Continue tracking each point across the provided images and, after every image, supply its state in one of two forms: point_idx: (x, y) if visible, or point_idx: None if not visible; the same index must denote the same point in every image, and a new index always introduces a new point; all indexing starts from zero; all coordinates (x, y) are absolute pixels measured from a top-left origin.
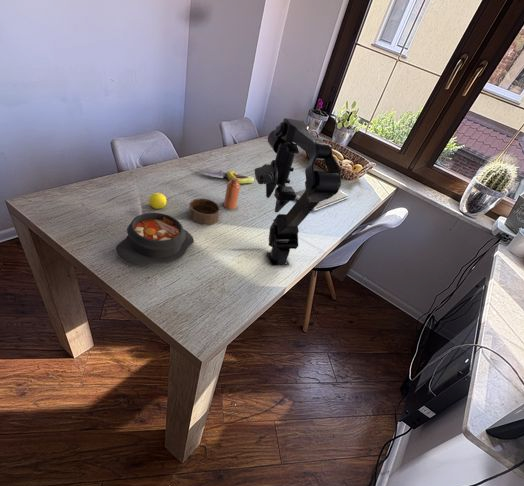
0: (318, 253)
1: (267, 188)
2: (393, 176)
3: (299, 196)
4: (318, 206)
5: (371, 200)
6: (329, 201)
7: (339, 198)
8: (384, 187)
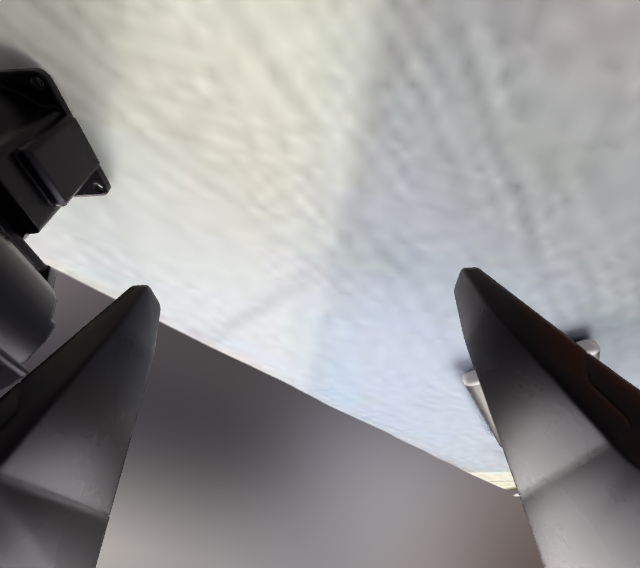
0: (188, 328)
1: (534, 366)
2: None
3: None
4: (473, 393)
5: (471, 463)
6: (490, 417)
7: (496, 434)
8: (511, 482)
